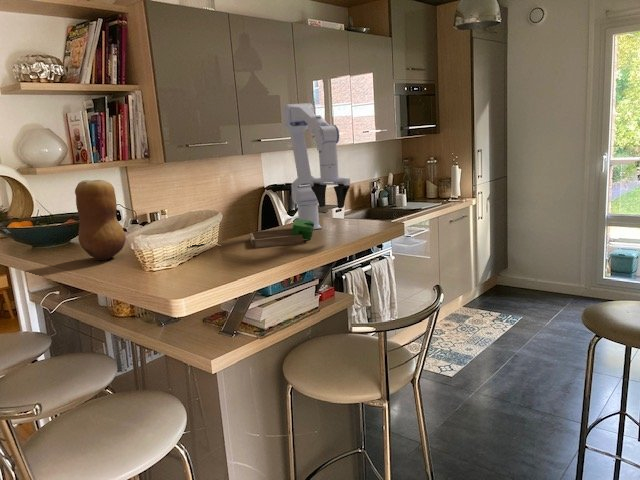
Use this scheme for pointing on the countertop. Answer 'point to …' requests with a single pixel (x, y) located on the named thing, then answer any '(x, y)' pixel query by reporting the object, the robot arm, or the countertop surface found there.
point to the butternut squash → (98, 219)
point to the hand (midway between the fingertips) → (331, 207)
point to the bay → (274, 238)
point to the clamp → (303, 228)
